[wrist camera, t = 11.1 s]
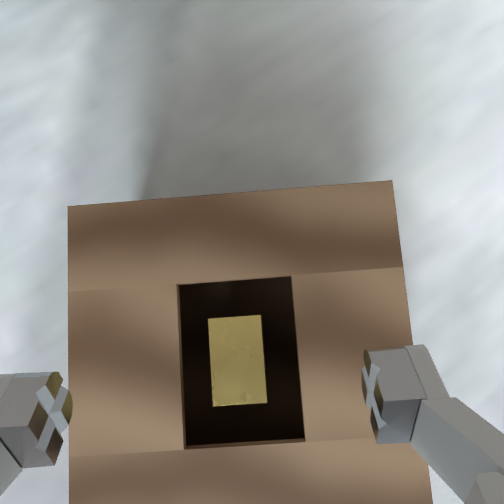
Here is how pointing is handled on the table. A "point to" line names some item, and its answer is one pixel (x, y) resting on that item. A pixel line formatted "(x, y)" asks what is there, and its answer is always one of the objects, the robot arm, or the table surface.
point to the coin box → (198, 349)
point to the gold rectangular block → (238, 360)
